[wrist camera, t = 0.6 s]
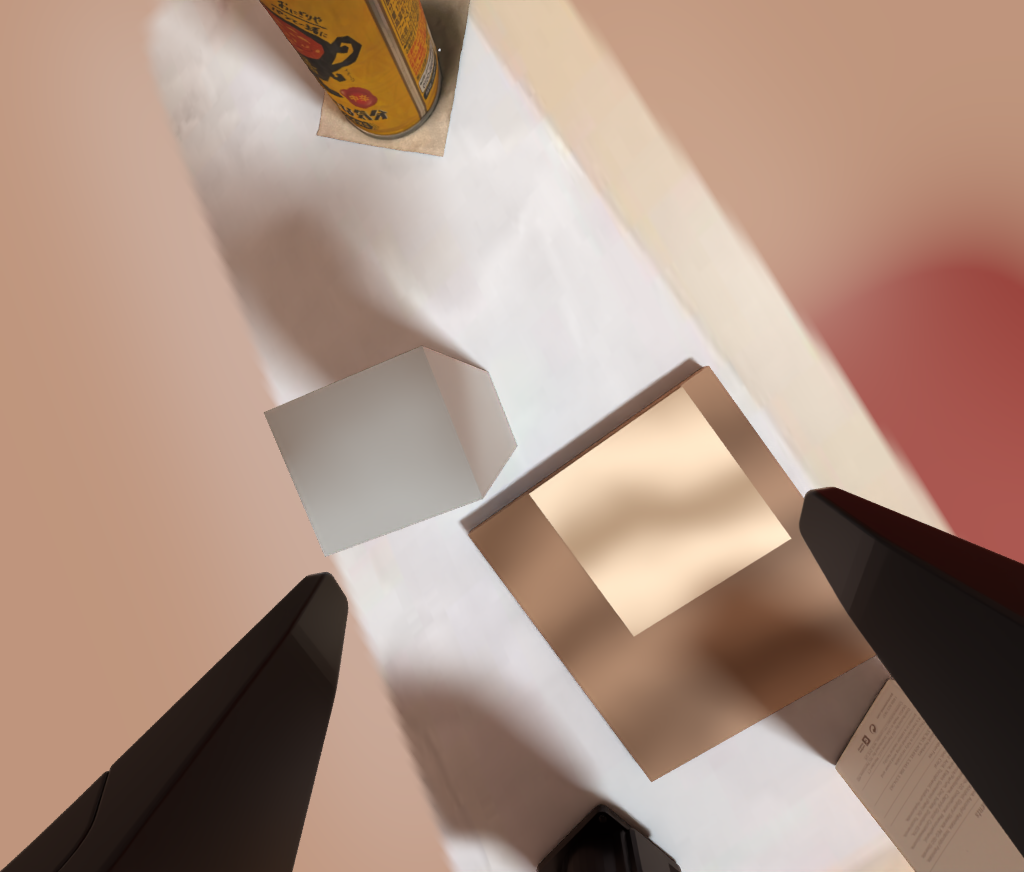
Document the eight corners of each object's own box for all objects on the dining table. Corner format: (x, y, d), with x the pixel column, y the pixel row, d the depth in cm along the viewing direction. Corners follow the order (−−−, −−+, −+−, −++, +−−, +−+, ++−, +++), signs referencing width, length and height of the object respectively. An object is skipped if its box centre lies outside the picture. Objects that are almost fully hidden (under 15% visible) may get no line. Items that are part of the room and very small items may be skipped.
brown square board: (892, 630, 23) (906, 640, 22) (648, 769, 25) (651, 783, 24) (703, 366, 23) (709, 365, 22) (470, 530, 25) (467, 535, 24)
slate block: (517, 445, 24) (482, 498, 11) (438, 475, 24) (325, 556, 12) (488, 372, 24) (421, 345, 11) (409, 404, 24) (263, 412, 12)
